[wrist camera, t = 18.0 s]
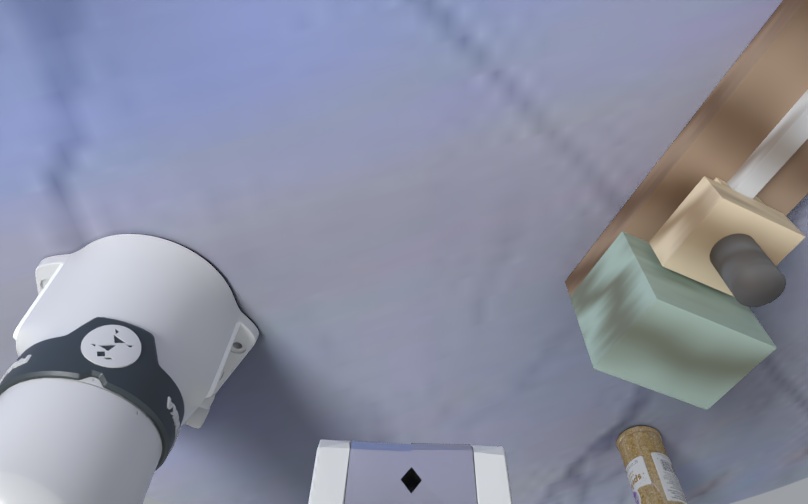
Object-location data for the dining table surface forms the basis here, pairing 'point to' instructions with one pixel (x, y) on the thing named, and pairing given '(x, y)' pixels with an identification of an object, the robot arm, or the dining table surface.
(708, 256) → the carriage
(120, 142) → the dining table surface
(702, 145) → the rail bed
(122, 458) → the robot arm
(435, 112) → the dining table surface
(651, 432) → the sprinkles bottle
